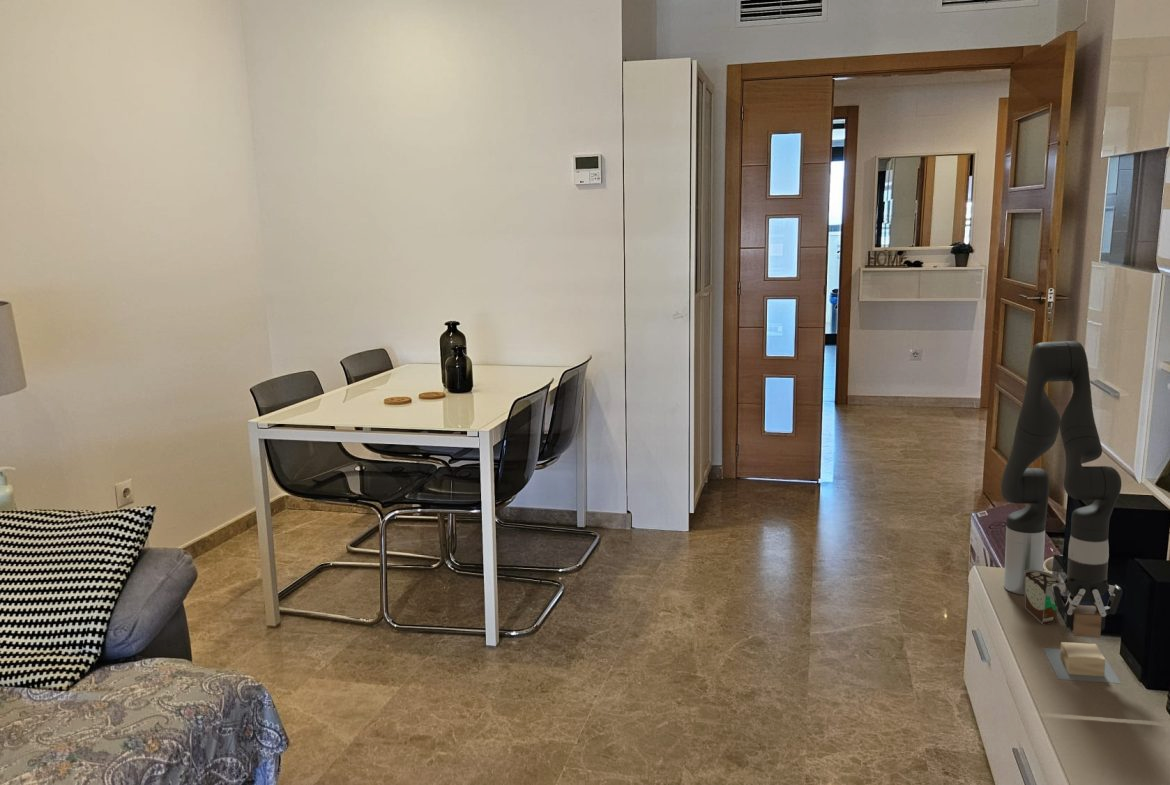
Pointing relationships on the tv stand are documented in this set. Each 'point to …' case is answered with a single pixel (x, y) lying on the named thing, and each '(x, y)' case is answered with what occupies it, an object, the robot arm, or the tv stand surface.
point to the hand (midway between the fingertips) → (1083, 629)
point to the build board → (1063, 674)
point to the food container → (1040, 595)
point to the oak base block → (1082, 659)
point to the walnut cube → (1086, 621)
